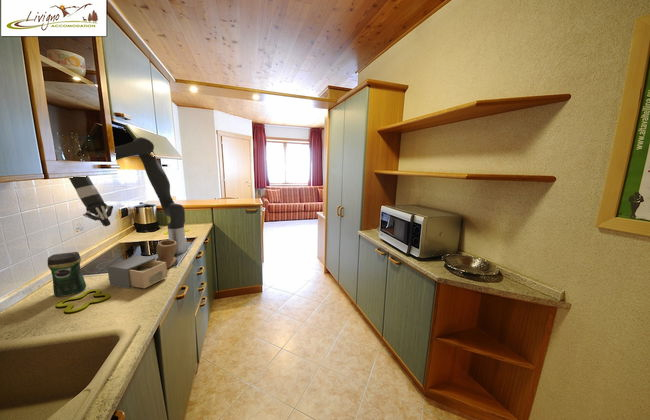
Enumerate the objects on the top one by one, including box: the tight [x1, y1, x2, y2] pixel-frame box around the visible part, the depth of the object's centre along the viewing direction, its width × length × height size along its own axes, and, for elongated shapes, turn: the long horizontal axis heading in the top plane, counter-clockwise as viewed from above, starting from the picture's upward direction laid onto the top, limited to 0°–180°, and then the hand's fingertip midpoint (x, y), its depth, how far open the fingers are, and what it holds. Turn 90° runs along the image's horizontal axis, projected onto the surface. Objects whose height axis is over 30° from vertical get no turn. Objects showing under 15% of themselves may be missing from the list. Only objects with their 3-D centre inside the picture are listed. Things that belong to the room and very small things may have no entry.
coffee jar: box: [47, 251, 87, 298], centre depth 102 cm, size 10×8×19 cm
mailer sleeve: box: [106, 255, 156, 290], centre depth 115 cm, size 14×12×10 cm
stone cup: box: [156, 239, 178, 269], centre depth 133 cm, size 15×12×15 cm
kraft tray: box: [128, 260, 169, 289], centre depth 114 cm, size 12×20×8 cm, turn 77°
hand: (107, 225), depth 122 cm, fingers closed
